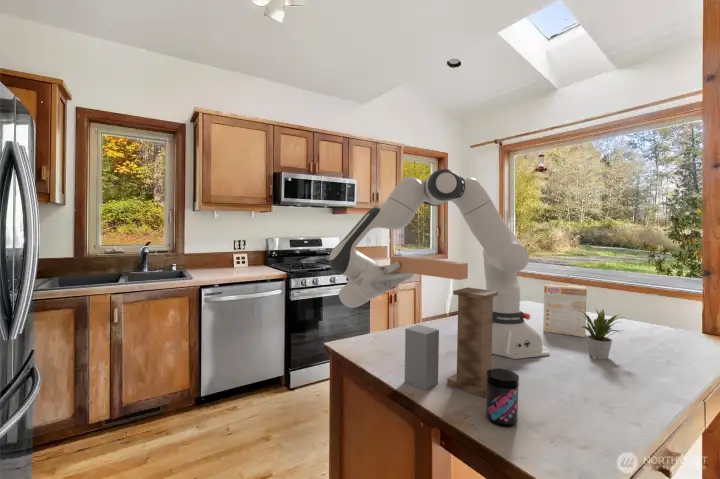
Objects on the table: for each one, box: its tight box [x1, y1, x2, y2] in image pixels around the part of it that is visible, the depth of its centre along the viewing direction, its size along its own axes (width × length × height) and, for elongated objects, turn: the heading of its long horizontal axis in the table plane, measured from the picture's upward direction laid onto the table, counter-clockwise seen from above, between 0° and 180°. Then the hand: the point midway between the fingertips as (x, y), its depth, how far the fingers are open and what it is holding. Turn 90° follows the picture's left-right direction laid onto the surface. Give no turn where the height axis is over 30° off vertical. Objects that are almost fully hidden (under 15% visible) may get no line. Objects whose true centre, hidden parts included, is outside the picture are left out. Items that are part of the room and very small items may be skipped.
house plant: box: [581, 308, 625, 360], centre depth 118 cm, size 14×14×16 cm
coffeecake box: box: [542, 283, 587, 338], centre depth 146 cm, size 15×7×20 cm, turn 58°
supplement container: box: [485, 368, 520, 428], centre depth 79 cm, size 7×7×10 cm
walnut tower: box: [446, 287, 498, 398], centre depth 96 cm, size 11×9×26 cm
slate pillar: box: [404, 324, 440, 391], centre depth 98 cm, size 7×6×15 cm
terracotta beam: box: [389, 256, 469, 281], centre depth 98 cm, size 23×4×4 cm, turn 45°
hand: (405, 263), depth 104 cm, fingers closed on terracotta beam, 4 cm apart
